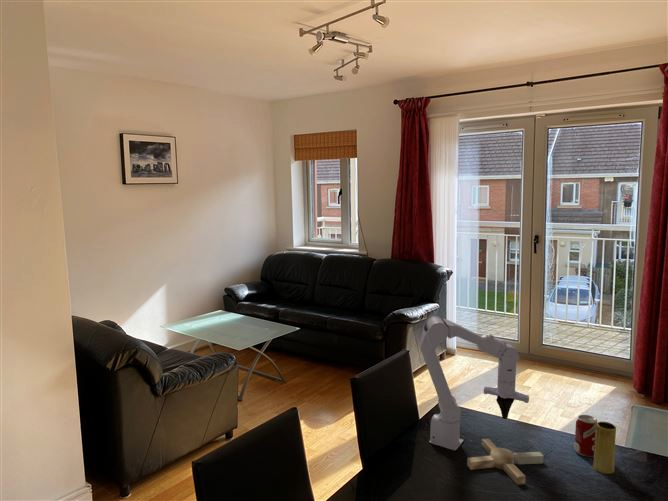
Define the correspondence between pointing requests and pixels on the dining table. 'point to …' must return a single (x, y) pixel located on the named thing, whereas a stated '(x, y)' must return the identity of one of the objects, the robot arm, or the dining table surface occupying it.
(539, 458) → the hinged leg
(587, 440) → the soda can
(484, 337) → the robot arm
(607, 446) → the vase
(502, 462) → the stool base
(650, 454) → the dining table surface
